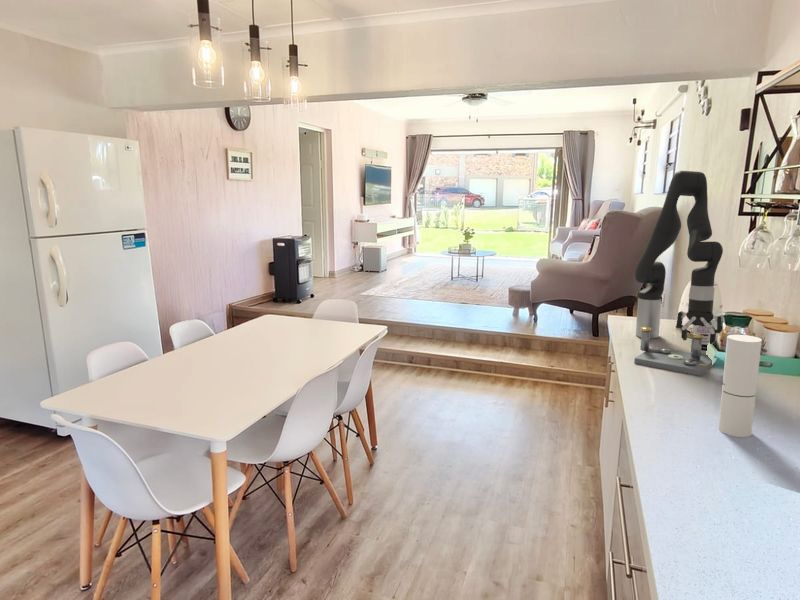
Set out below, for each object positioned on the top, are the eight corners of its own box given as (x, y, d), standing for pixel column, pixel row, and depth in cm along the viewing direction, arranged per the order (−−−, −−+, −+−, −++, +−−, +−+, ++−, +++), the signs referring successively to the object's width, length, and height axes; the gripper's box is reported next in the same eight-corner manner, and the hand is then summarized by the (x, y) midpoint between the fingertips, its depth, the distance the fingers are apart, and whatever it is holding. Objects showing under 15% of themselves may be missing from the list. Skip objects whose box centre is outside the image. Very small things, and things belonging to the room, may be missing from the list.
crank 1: (670, 351, 190) (671, 328, 188) (671, 354, 186) (672, 330, 184) (639, 349, 194) (640, 326, 192) (639, 351, 190) (641, 328, 189)
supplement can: (708, 352, 194) (711, 315, 191) (719, 358, 186) (723, 320, 183) (686, 352, 195) (689, 315, 192) (697, 358, 187) (700, 320, 184)
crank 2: (694, 366, 172) (696, 341, 170) (681, 364, 175) (683, 339, 173) (703, 359, 179) (705, 335, 178) (690, 357, 182) (692, 333, 181)
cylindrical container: (746, 426, 130) (756, 335, 126) (755, 438, 124) (766, 342, 119) (715, 423, 133) (723, 333, 128) (722, 435, 126) (732, 341, 121)
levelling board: (653, 351, 197) (653, 345, 197) (716, 362, 182) (717, 355, 182) (634, 363, 184) (634, 356, 183) (700, 376, 168) (701, 369, 168)
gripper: (727, 298, 173) (723, 342, 176) (682, 294, 183) (679, 336, 186) (721, 301, 168) (717, 347, 171) (675, 297, 178) (673, 340, 181)
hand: (697, 341), depth 178 cm, fingers open, 8 cm apart
